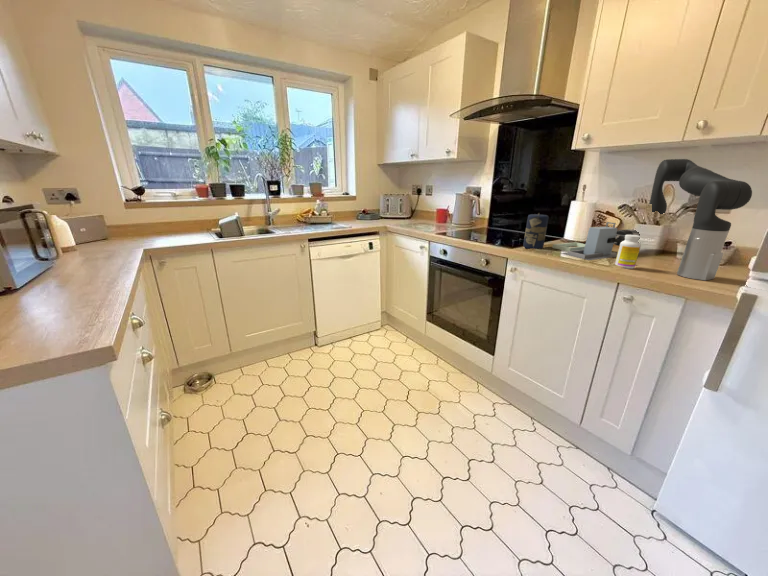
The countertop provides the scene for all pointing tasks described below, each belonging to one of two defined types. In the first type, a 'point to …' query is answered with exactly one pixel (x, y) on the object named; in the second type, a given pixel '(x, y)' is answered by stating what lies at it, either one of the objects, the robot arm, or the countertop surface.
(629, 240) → the supplement bottle
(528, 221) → the canister
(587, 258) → the printer bay
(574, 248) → the tray
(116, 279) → the countertop surface
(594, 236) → the grey block
